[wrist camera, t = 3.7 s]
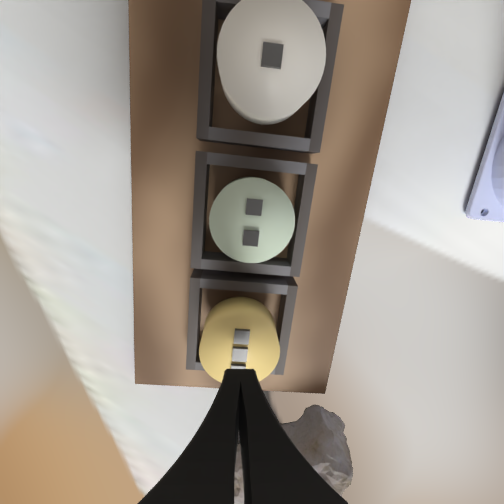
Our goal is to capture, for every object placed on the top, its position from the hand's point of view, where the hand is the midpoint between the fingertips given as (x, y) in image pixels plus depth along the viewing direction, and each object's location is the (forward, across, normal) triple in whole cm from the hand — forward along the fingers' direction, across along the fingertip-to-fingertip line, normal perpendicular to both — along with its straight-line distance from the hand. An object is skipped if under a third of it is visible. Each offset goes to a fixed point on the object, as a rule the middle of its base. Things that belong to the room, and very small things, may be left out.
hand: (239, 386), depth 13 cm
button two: (+6, -1, -7) cm, 9 cm away
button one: (+5, -1, -14) cm, 15 cm away
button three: (+5, 0, 0) cm, 5 cm away
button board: (+7, 0, -7) cm, 10 cm away
